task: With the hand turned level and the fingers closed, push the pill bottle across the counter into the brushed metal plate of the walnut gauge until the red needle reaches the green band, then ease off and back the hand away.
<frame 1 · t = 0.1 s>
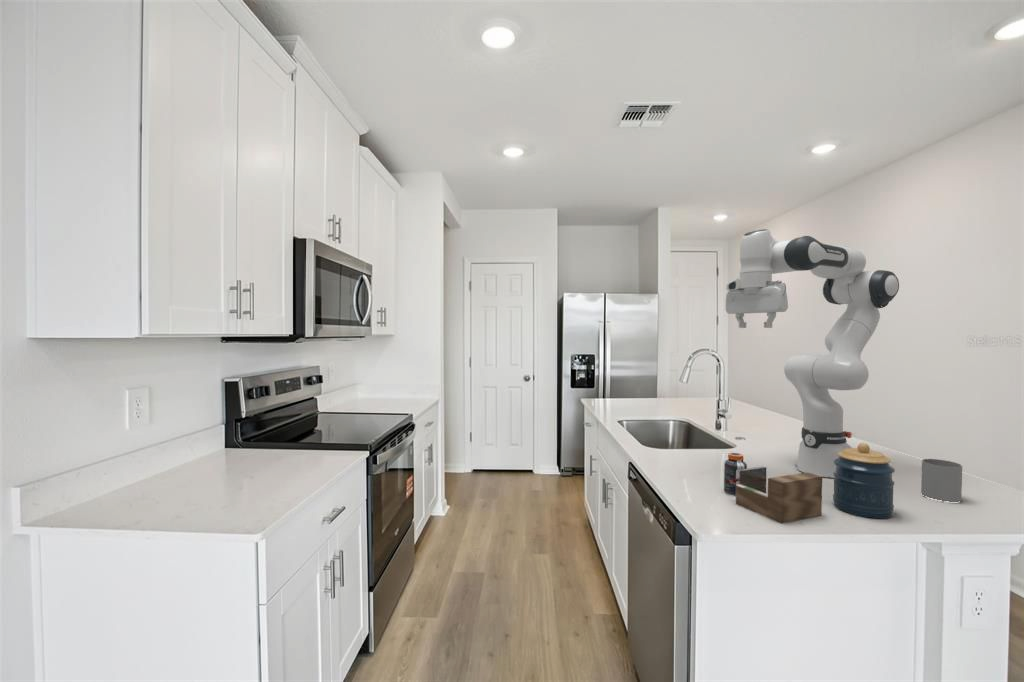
hand: (754, 327, 146), 48 cm above the countertop, tool pointing down, fingers open, 8 cm apart
brushed metal plate: (747, 483, 133), point 5 cm above the countertop, slide at 0.0 cm
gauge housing: (774, 508, 126), on the countertop
cup: (940, 498, 134), on the countertop
pill bottle: (735, 493, 138), on the countertop
canister: (862, 510, 125), on the countertop
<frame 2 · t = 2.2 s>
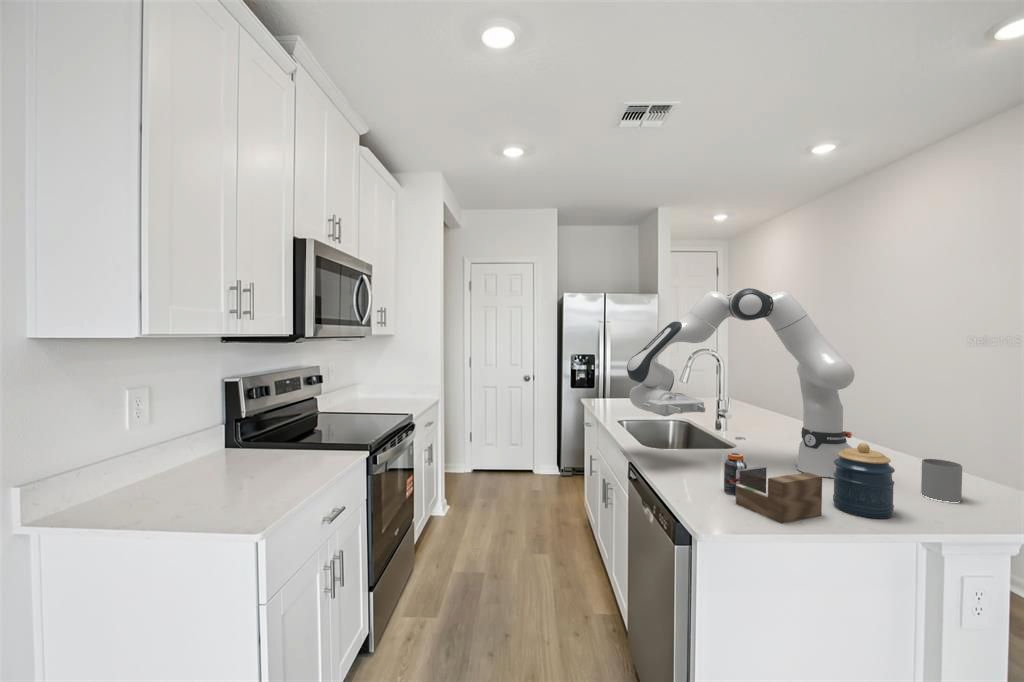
hand: (692, 410, 154), 21 cm above the countertop, tool horizontal, fingers open, 8 cm apart
nothing on the countertop moved.
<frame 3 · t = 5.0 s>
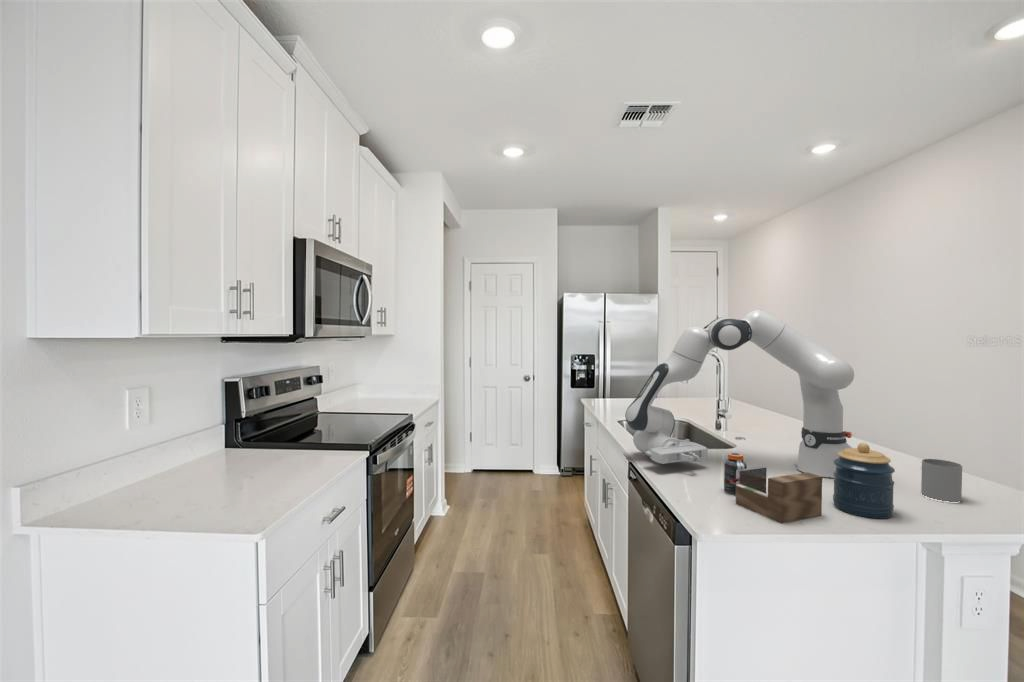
hand: (695, 459, 154), 5 cm above the countertop, tool horizontal, fingers closed
nothing on the countertop moved.
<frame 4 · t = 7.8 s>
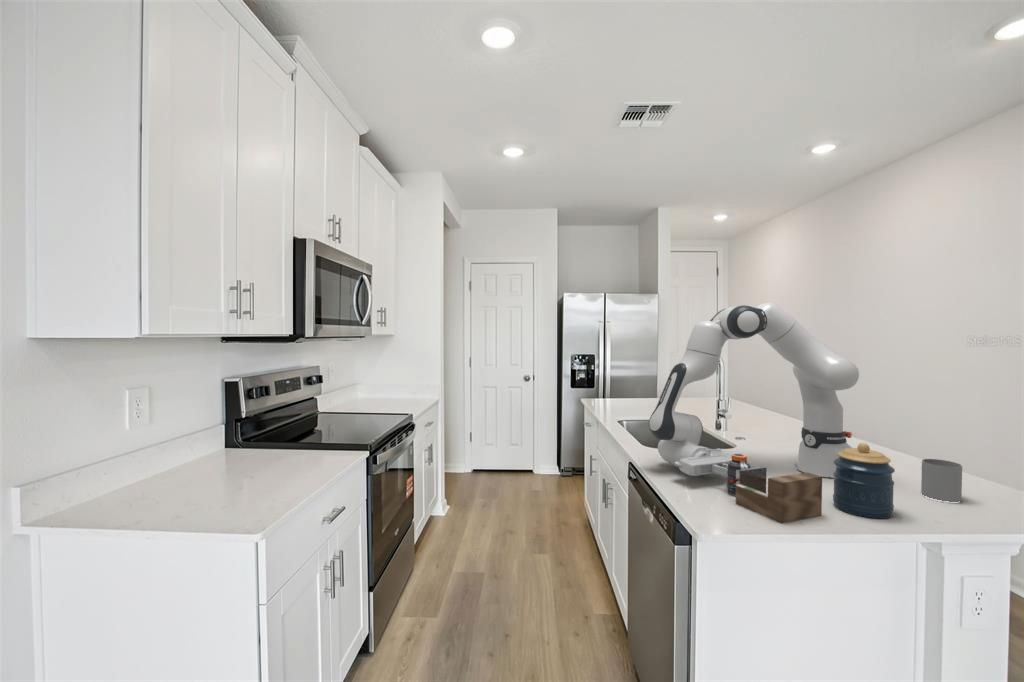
hand: (730, 471, 140), 6 cm above the countertop, tool horizontal, fingers closed, pressing on pill bottle
pill bottle: (738, 494, 137), on the countertop, touching gripper
everything else where it was.
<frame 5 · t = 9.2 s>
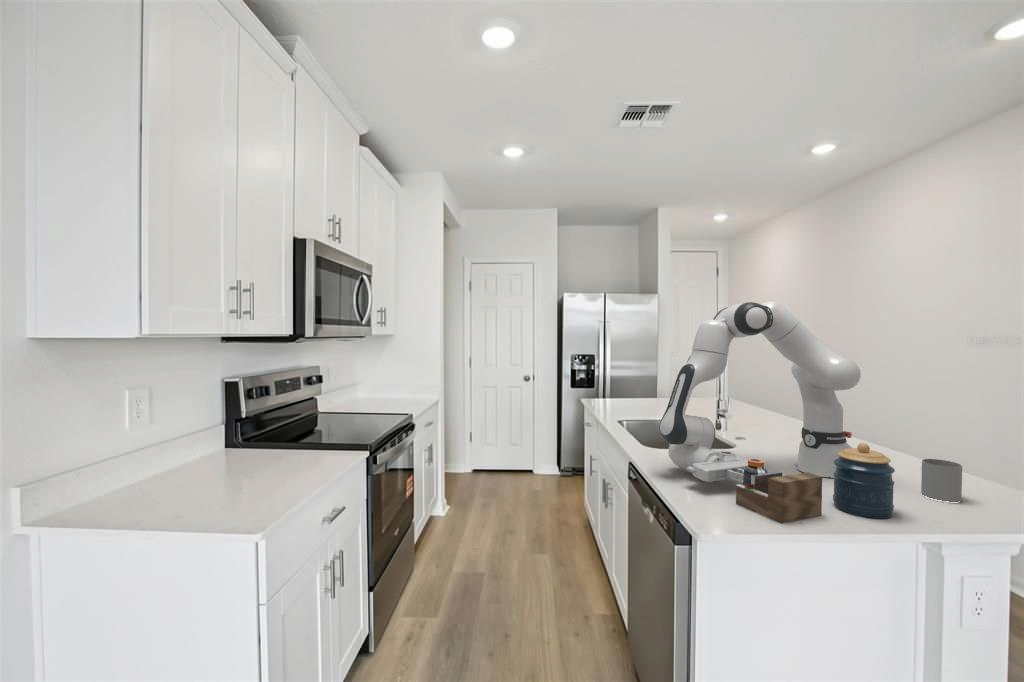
hand: (746, 477, 134), 6 cm above the countertop, tool horizontal, fingers closed, pressing on pill bottle
brushed metal plate: (763, 489, 128), point 4 cm above the countertop, slide at 5.0 cm, touching pill bottle
pill bottle: (754, 501, 132), on the countertop, touching gripper, brushed metal plate
everything else where it was.
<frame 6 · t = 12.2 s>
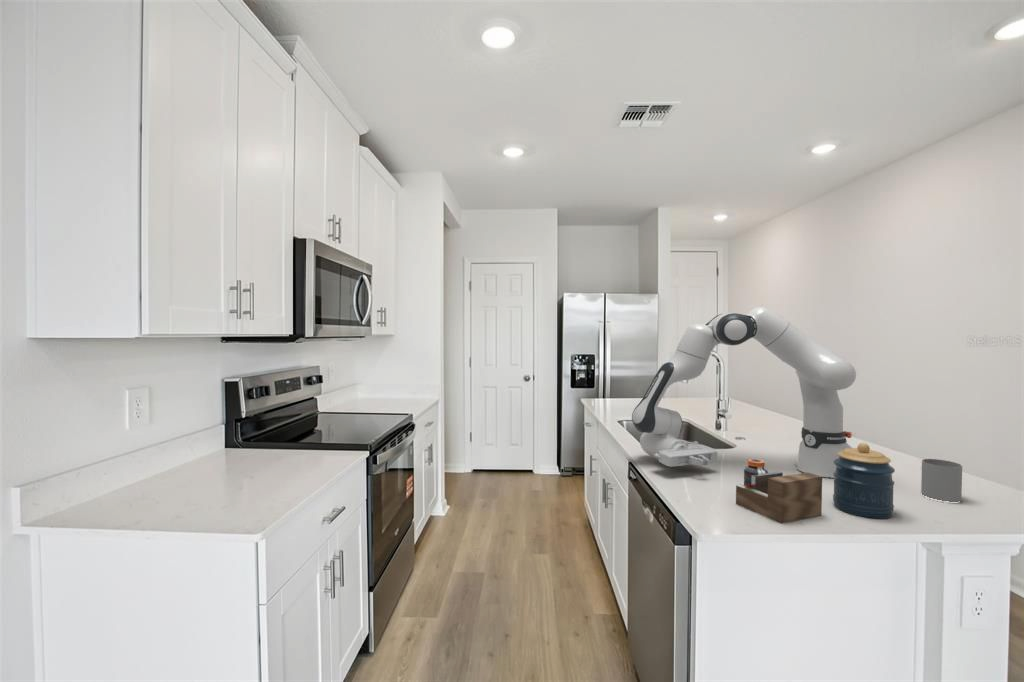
hand: (705, 462, 149), 6 cm above the countertop, tool horizontal, fingers closed
brushed metal plate: (763, 489, 128), point 4 cm above the countertop, slide at 5.2 cm
pill bottle: (755, 501, 132), on the countertop
everything else where it was.
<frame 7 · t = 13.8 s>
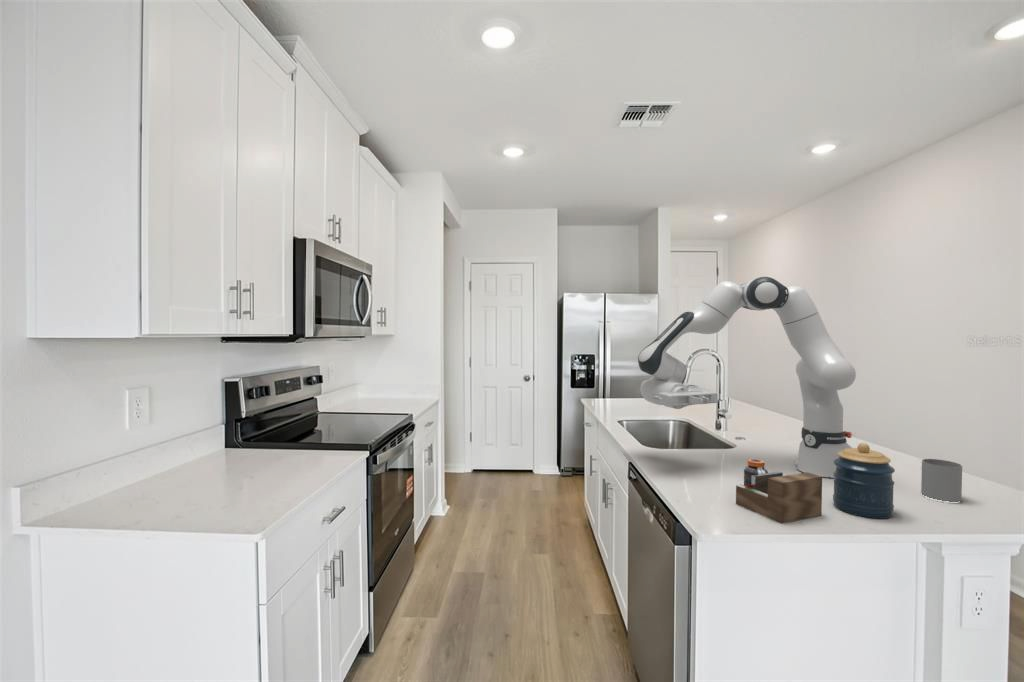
hand: (705, 401, 149), 25 cm above the countertop, tool horizontal, fingers closed
nothing on the countertop moved.
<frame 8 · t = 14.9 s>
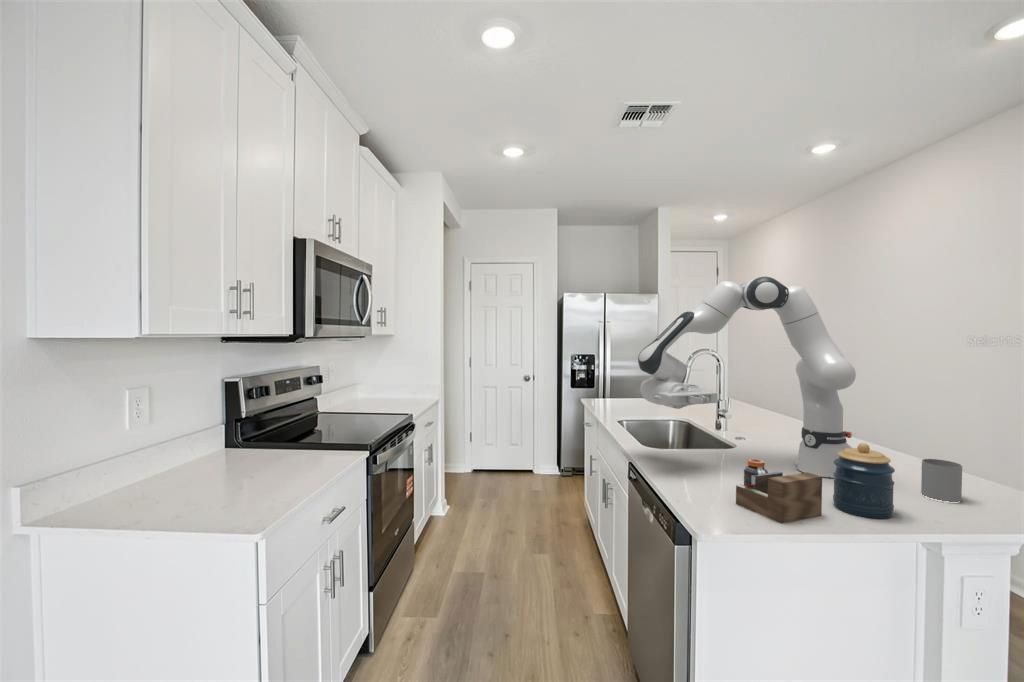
hand: (705, 401, 149), 25 cm above the countertop, tool horizontal, fingers closed
nothing on the countertop moved.
at the end: brushed metal plate slide at 5.2 cm; pill bottle tilted 0° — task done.
